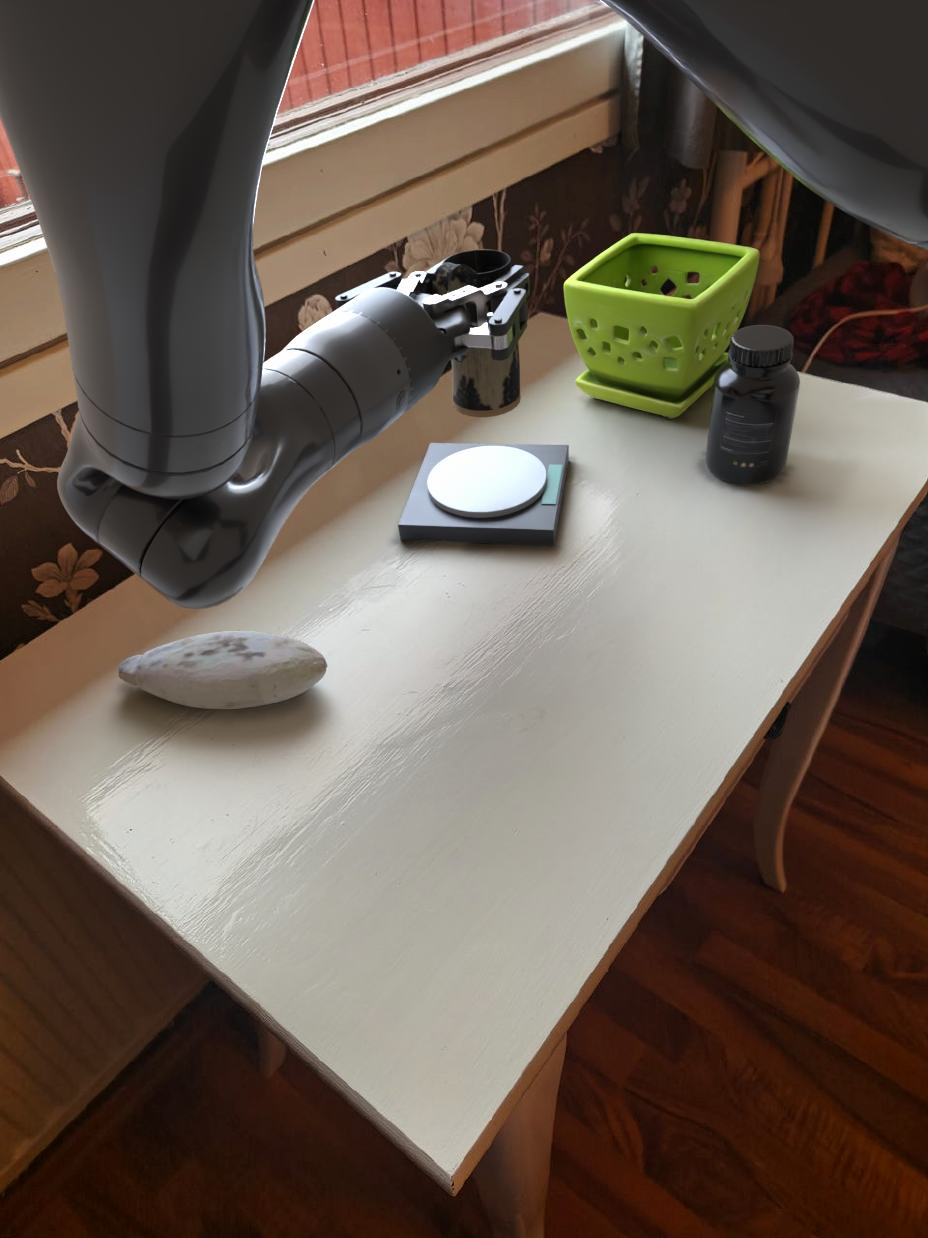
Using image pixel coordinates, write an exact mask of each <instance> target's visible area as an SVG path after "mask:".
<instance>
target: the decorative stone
mask: <svg viewBox="0 0 928 1238" xmlns="http://www.w3.org/2000/svg"><path fill="white" fill-rule="evenodd" d="M327 668H328V663H327V661H326V658H325V657H324V655H323V654H322V653H321V652H320V651H318V649H315V648H314V647H313V646H310V645H309V644H307V643H306V642H304V641H302V640H301V639H300V640H299V639H296V638H293V637H289V636H285V635H281V634H274V633H269V632H262V631H253V630H224V631H216V632H207V633H203V634H197V635H192V636H187V637H185V638H182V639H178V640H176V641H172V642H168V643H165V644H162V645H159V646H156V647H154V648H151V649H149V650H147V651H145V652H144V653H143V654H135V655H133V656H130V657H128V658H126V659H125V660H123V661H122V662H120V664H119V665H118V669H117V671H118V677H119V679H121V680H122V681H123V682H126V683H127V684H130V685H132V686H135V687H136V686H137V687H138V688H139V689H140V690H142V691H144V692H146V693H149V694H150V695H153V696H156V697H157V698H160V699H163V700H165V701H169V702H171V703H174V704H178V705H182V706H185V707H191V708H198V709H207V710H237V709H238V710H239V709H244V708H245V709H247V708H255V707H260V706H261V707H262V706H265V705H271V704H276V703H281V702H284V701H287V700H290V699H292V698H295V697H297V696H299V695H301V694H303V693H305V692H307V691H309V690H310V689H311V688H313V687H314V686H315V685H316V684H317V683H319V682H320V681H321V679H323V678H324V676H325V674H326V672H327Z"/></svg>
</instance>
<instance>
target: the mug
mask: <svg viewBox="0 0 928 1238" xmlns="http://www.w3.org/2000/svg"><path fill="white" fill-rule="evenodd" d="M447 257H448V258H447ZM447 257H446V258H444V259H443V260H444V261H443V260H442V261H443V264H442V265H440V266H439V267H438V268H437V270H436V272H435V274H434V277H433V284H432V287H433V295H435V294H438V295H441V296H443V295H445V294H448V293H450V292H453V291H455V290H458V289H460V288H463V287H466V286H472V287H475V288H478V289H480V288H482V287H485V286H487V285H490V284H492V283H494V281H495V280H497V279H498V278H499V277H500V276H502V275H503V274H504V273H506V272H507V271H508V270H510V269H511V268H512V267H513V266H512V259H511V256H510V255H509V254H508V253H506V252H504V251H501V250H498V249H488V248H487V249H486V248H483V249H480V248H479V249H470V250H465V251H460V252H457V253H454V254H452V255H450V256H447ZM463 305H464V307H465V309H466V303H464V304H463ZM490 312H491V300H488V301H487V302H486V303H485V315H486V314H488V313H490ZM519 344H520V343H519V341H518V343H517V345H516V346H515V348H514V350H513V351H512V353H511V355H510V356H509V358H508V359H506V360H502V361H497V360H493V359H492V358H491V350H489V348H476V347H470V349H469V351H468V352H467V353H465V354H464V355H461V356H458V357H455V358H453V359H451V360H450V362H451V396H452V406H453V408H454V410H455V411H456V412H457V413H460V414H462V415H464V416H468V417H472V418H491V417H497V416H501V415H505V414H507V413H509V412H512V411H513V410H514V409H515V408H517V407H518V406H519V405H520V404H521V400H522V399H521V398H522V397H521V363H520V362H521V361H520V345H519Z"/></svg>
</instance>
